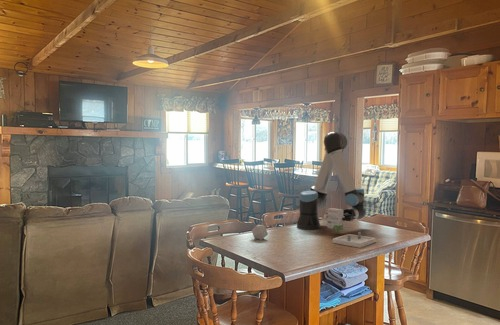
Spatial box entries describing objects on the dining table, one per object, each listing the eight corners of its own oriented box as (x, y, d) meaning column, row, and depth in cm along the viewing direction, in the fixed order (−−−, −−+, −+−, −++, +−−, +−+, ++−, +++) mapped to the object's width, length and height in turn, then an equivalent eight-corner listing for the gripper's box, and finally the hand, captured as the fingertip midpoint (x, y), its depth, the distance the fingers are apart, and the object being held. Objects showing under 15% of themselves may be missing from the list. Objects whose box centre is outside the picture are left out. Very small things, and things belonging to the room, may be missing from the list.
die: (270, 240, 213) (267, 224, 218) (265, 235, 206) (262, 219, 211) (257, 244, 214) (254, 229, 220) (251, 240, 207) (248, 224, 213)
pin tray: (332, 242, 205) (332, 234, 205) (349, 237, 218) (349, 229, 218) (360, 247, 194) (360, 238, 194) (375, 242, 207) (375, 233, 207)
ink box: (343, 229, 224) (344, 209, 223) (338, 230, 221) (339, 210, 220) (331, 226, 230) (332, 207, 230) (326, 227, 227) (327, 208, 227)
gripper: (366, 222, 231) (347, 227, 215) (334, 217, 246) (315, 222, 229) (366, 210, 231) (348, 214, 214) (335, 206, 246) (315, 209, 229)
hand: (331, 218), depth 222 cm, fingers closed on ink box, 9 cm apart
